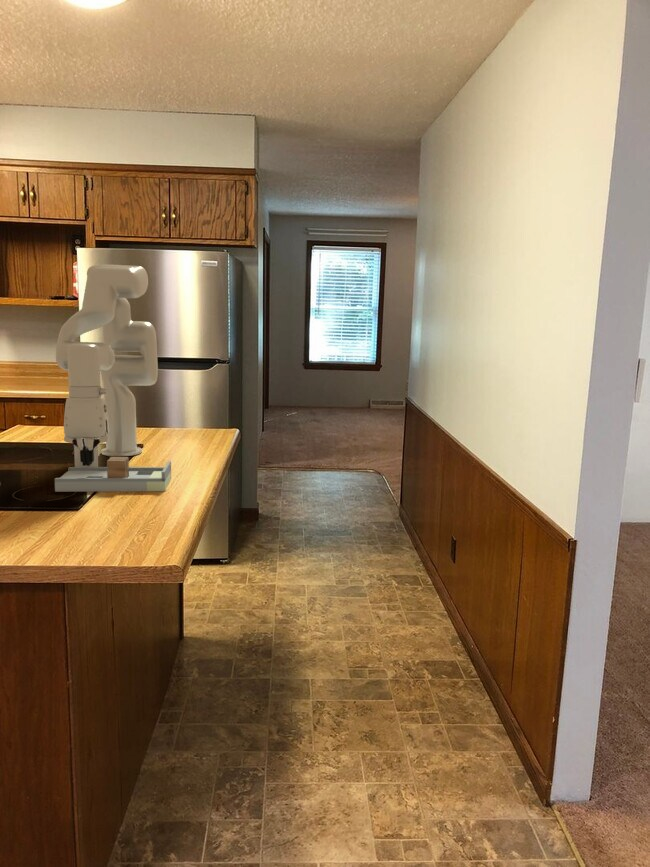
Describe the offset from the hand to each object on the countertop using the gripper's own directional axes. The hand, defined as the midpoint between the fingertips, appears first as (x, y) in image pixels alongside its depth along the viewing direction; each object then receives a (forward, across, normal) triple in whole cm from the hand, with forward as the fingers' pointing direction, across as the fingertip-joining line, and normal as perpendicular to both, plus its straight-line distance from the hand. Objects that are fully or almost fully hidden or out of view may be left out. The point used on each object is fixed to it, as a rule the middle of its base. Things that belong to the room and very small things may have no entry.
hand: (87, 464), depth 162 cm
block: (+4, -7, -1) cm, 8 cm away
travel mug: (+6, +5, -20) cm, 21 cm away
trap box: (+6, -6, -4) cm, 9 cm away
